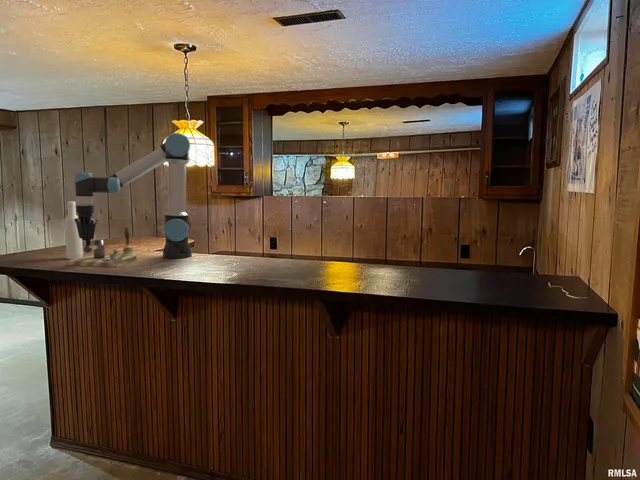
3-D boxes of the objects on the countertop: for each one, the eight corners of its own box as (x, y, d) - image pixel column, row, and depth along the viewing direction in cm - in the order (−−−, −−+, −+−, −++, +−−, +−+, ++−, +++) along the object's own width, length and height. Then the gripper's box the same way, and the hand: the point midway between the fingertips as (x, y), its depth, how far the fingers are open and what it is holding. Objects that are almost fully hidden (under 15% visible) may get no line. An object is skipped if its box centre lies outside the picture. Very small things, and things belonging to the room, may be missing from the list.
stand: (136, 260, 235) (135, 244, 234) (117, 266, 217) (116, 250, 216) (89, 258, 238) (88, 243, 237) (67, 265, 220) (65, 249, 219)
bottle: (67, 257, 242) (63, 201, 238) (83, 256, 245) (80, 201, 241) (65, 259, 235) (61, 202, 231) (83, 258, 238) (79, 201, 234)
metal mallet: (97, 256, 232) (96, 239, 231) (106, 256, 232) (105, 239, 231) (81, 261, 217) (80, 243, 216) (91, 262, 217) (90, 243, 216)
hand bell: (116, 257, 243) (115, 227, 241) (127, 254, 251) (126, 226, 249) (129, 258, 241) (128, 228, 239) (140, 255, 249) (138, 226, 247)
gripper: (100, 205, 219) (102, 253, 222) (82, 203, 224) (85, 250, 228) (87, 206, 212) (89, 255, 216) (68, 204, 217) (71, 252, 221)
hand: (87, 252), depth 222 cm, fingers closed
